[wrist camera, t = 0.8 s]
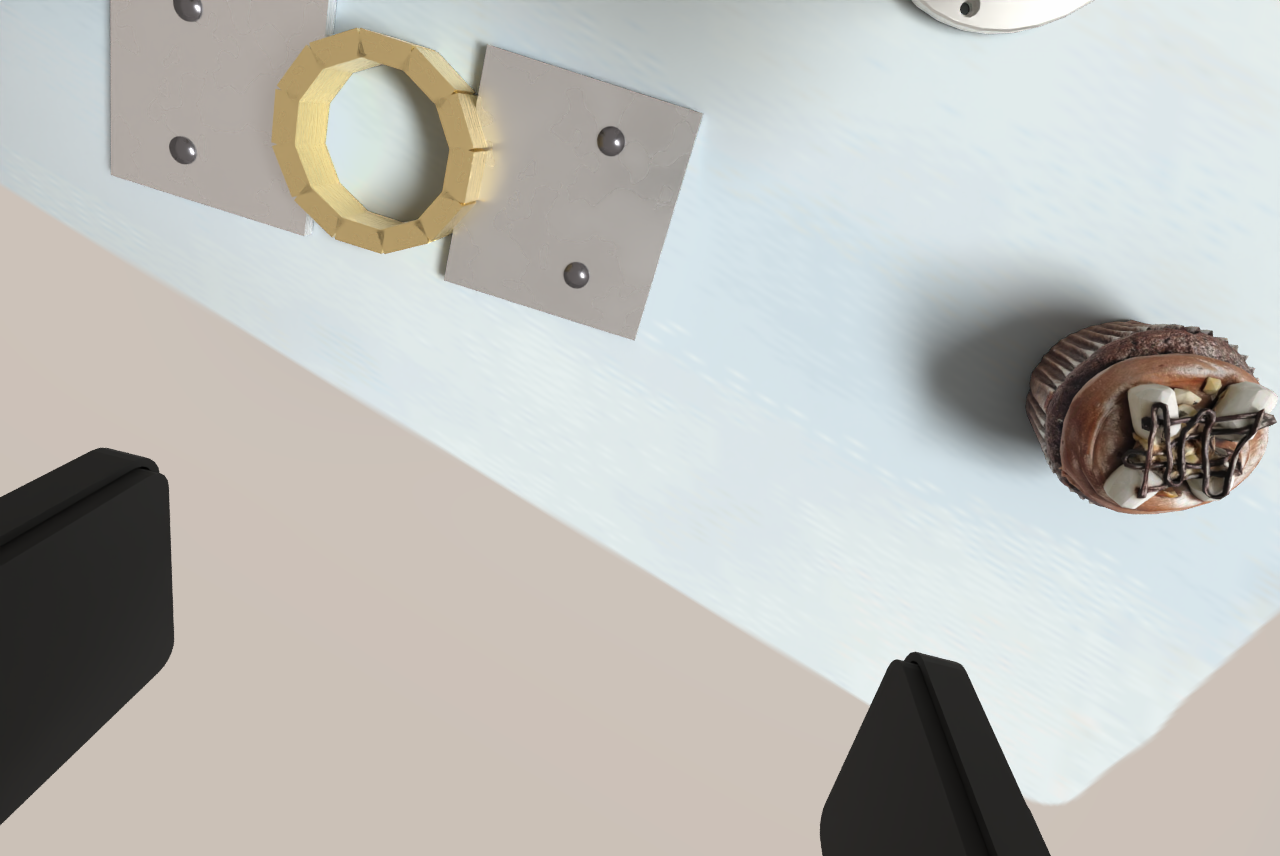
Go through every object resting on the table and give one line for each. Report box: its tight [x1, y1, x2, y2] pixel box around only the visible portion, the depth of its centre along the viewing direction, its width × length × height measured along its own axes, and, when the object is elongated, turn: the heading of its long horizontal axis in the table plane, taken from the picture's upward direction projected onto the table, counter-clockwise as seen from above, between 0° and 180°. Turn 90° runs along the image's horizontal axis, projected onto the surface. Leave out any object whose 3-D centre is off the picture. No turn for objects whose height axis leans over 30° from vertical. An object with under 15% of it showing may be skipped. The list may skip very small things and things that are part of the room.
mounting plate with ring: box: [110, 0, 703, 340], centre depth 37 cm, size 12×30×3 cm, turn 73°
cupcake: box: [1025, 320, 1278, 514], centre depth 35 cm, size 10×10×10 cm
